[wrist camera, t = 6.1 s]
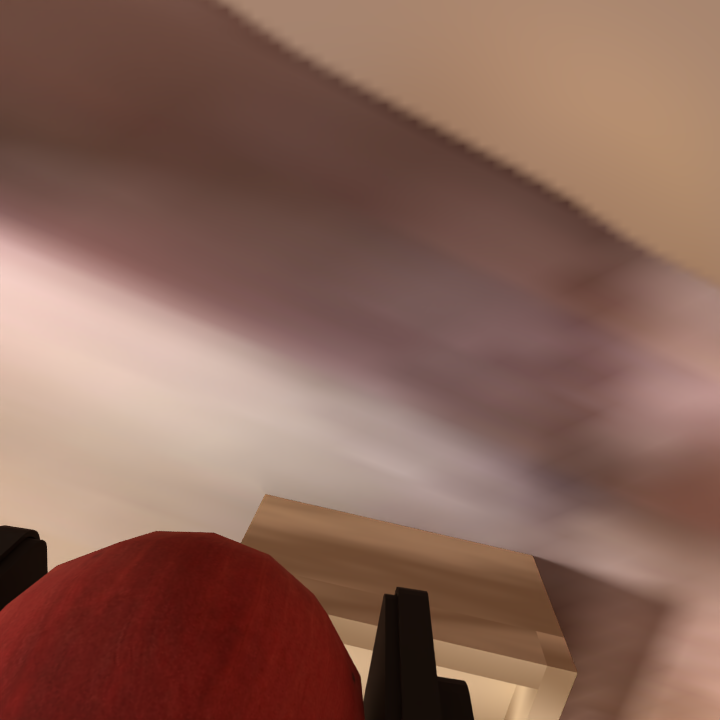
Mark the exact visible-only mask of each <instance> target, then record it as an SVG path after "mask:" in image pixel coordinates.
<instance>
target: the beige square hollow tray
mask: <svg viewBox="0 0 720 720" xmlns="http://www.w3.org/2000/svg"><path fill="white" fill-rule="evenodd" d="M241 544H244V545H246V546H249V547H251V548H254V549H256V550H259V551H261V552H264V553H266V554H269V555H270V556H272V557H273V558H274V559H275V560H276V561H277V562H278V563H279V564H281V565H282V566H283V567H284V568H285V569H286V570H287V571H288V572H290V573H291V574H292V575H293V576H294V577H295V578H296V579H297V580H299V581H300V582H301V583H302V584H303V585H304V586H305V587H306V588H308V589H309V590H310V591H311V592H312V593H313V594H314V595H315V597H316V598H317V599H318V601H319V602H320V604H321V605H322V607H323V608H324V610H325V611H326V613H327V614H328V616H329V618H330V620H331V621H332V623H333V625H334V627H335V629H336V631H337V633H338V635H339V636H340V638H341V640H342V642H343V644H344V646H345V648H346V650H347V651H348V653H349V655H350V657H351V659H352V661H353V663H354V665H355V666H356V668H357V670H358V672H359V674H360V676H361V683H362V694H363V699H364V694H365V689H366V684H367V679H368V673H369V668H370V663H371V658H372V653H373V647H374V642H375V637H376V632H377V627H378V621H379V616H380V611H381V606H382V600H383V596H384V594H392V595H394V594H395V590H396V587H403V588H410V589H416V590H422V591H427V593H428V597H429V606H430V615H431V624H432V633H433V642H434V651H435V661H436V670H437V676H439V677H445V678H451V679H458V680H464V681H465V682H466V683H467V685H468V689H469V693H470V698H471V704H472V710H473V716H474V720H559V718H560V716H561V713H562V711H563V708H564V706H565V703H566V701H567V698H568V696H569V693H570V691H571V688H572V686H573V683H574V681H575V678H576V676H577V670H576V667H575V665H574V662H573V660H572V657H571V654H570V652H569V649H568V647H567V644H566V641H565V639H564V636H563V633H562V631H561V628H560V626H559V623H558V620H557V618H556V615H555V613H554V610H553V607H552V605H551V602H550V600H549V597H548V594H547V592H546V589H545V587H544V584H543V581H542V579H541V576H540V574H539V571H538V568H537V566H536V563H535V561H534V558H533V556H532V555H528V554H523V553H519V552H515V551H510V550H506V549H502V548H497V547H493V546H488V545H484V544H480V543H475V542H471V541H467V540H462V539H458V538H454V537H449V536H445V535H441V534H436V533H432V532H428V531H423V530H419V529H415V528H410V527H406V526H401V525H397V524H393V523H388V522H384V521H380V520H375V519H371V518H367V517H362V516H358V515H354V514H349V513H345V512H341V511H336V510H332V509H328V508H323V507H319V506H315V505H310V504H306V503H301V502H297V501H293V500H288V499H284V498H280V497H275V496H271V495H267V494H265V496H264V498H263V500H262V502H261V504H260V506H259V508H258V510H257V512H256V514H255V516H254V518H253V520H252V522H251V524H250V526H249V528H248V530H247V532H246V534H245V536H244V538H243V540H242V542H241Z"/></svg>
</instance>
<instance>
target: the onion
mask: <svg viewBox="0 0 720 720" xmlns="http://www.w3.org/2000/svg"><path fill="white" fill-rule="evenodd" d="M0 720H365V714H364V704H363V694H362V683H361V676H360V674H359V672H358V670H357V668H356V666H355V665H354V663H353V661H352V659H351V657H350V655H349V653H348V651H347V650H346V648H345V646H344V644H343V642H342V640H341V638H340V636H339V635H338V633H337V631H336V629H335V627H334V625H333V623H332V621H331V620H330V618H329V616H328V614H327V613H326V611H325V610H324V608H323V607H322V605H321V604H320V602H319V601H318V599H317V598H316V597H315V595H314V594H313V593H312V592H311V591H310V590H309V589H308V588H306V587H305V586H304V585H303V584H302V583H301V582H300V581H299V580H297V579H296V578H295V577H294V576H293V575H292V574H291V573H290V572H288V571H287V570H286V569H285V568H284V567H283V566H282V565H281V564H279V563H278V562H277V561H276V560H275V559H274V558H273V557H272V556H270V555H269V554H266V553H264V552H261V551H259V550H256V549H254V548H251V547H249V546H246V545H244V544H241V543H238V542H236V541H233V540H231V539H228V538H226V537H223V536H221V535H218V534H216V533H206V532H169V531H155V532H152V533H148V534H145V535H142V536H138V537H135V538H132V539H129V540H125V541H122V542H119V543H116V544H113V545H111V546H108V547H106V548H103V549H100V550H98V551H95V552H92V553H90V554H87V555H84V556H82V557H79V558H76V559H74V560H71V561H68V562H66V563H63V564H60V565H58V566H56V567H55V568H53V569H52V570H51V571H49V572H48V573H47V574H46V575H44V576H43V577H42V578H41V579H39V580H38V581H37V582H35V583H34V584H33V585H32V586H30V587H29V588H28V589H26V590H25V591H24V592H23V593H21V594H20V595H19V596H17V597H16V598H15V599H14V600H12V601H11V602H10V603H8V604H7V605H6V606H5V607H4V608H3V609H2V610H1V611H0Z"/></svg>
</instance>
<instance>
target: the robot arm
mask: <svg viewBox="0 0 720 720" xmlns="http://www.w3.org/2000/svg"><path fill="white" fill-rule="evenodd" d="M47 573H48V571H47V545H46V542H45V541H44V540H40V537H39V534H38V532H37V531H35V530H31V529H25V528H18V527H12V526H5V525H4V526H0V611H1V610H2V609H3V608H4V607H5V606H6V605H7V604H8V603H10V602H11V601H12V600H14V599H15V598H16V597H17V596H19V595H20V594H21V593H23V592H24V591H25V590H26V589H28V588H29V587H30V586H32V585H33V584H34V583H35V582H37V581H38V580H39V579H41V578H42V577H43V576H44V575H46V574H47ZM363 704H364V714H365V720H474V716H473V710H472V704H471V698H470V693H469V689H468V685H467V683H466V682H465V681H464V680H458V679H451V678H445V677H439V676H437V670H436V661H435V651H434V642H433V633H432V624H431V615H430V606H429V597H428V593H427V591H422V590H416V589H410V588H403V587H396V590H395V594H394V595H392V594H384V596H383V600H382V606H381V611H380V616H379V621H378V627H377V632H376V637H375V642H374V647H373V653H372V658H371V663H370V668H369V673H368V679H367V684H366V689H365V694H364V699H363Z"/></svg>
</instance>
